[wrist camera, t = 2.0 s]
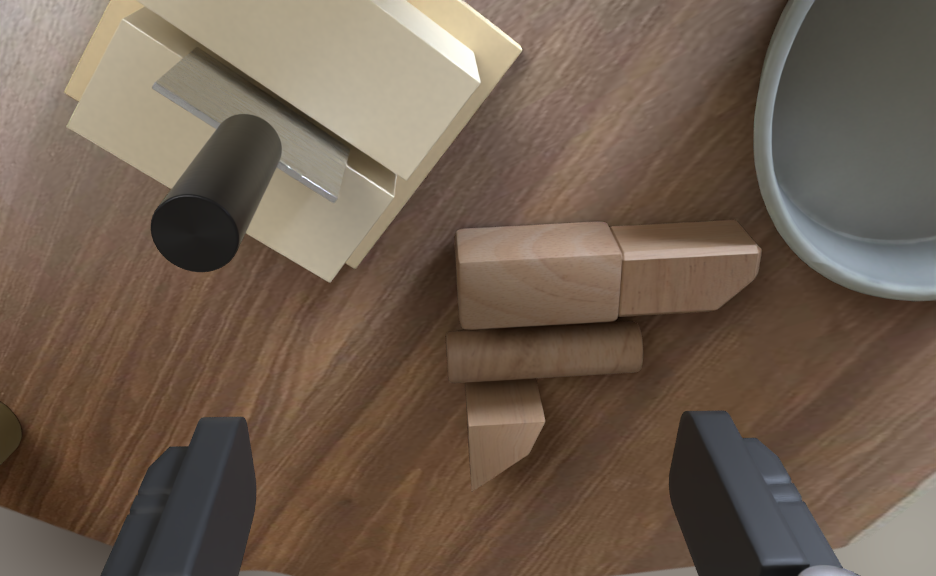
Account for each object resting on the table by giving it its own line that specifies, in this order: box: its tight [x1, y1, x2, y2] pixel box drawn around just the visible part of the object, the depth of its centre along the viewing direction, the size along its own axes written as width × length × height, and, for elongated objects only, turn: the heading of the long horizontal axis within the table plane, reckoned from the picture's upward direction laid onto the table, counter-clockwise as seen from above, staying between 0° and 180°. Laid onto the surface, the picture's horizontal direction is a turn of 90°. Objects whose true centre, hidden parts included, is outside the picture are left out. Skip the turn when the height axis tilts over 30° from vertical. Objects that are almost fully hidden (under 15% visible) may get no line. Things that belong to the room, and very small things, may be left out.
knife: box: [151, 47, 350, 272], centre depth 29 cm, size 8×3×14 cm, turn 53°
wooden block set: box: [446, 220, 762, 492], centre depth 48 cm, size 17×6×18 cm
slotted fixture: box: [64, 0, 522, 283], centre depth 38 cm, size 18×16×7 cm
